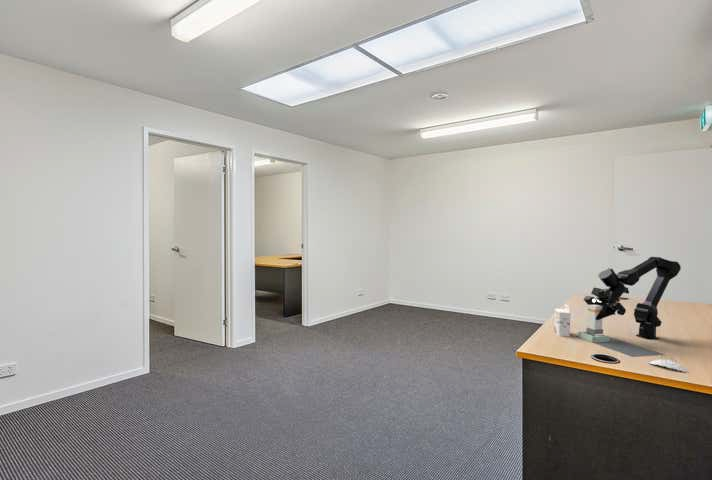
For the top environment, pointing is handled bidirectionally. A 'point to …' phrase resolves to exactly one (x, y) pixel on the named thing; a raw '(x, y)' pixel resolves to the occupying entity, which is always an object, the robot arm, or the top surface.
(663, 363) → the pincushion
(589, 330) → the white rectangular container
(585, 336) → the holder
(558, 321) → the ink cartridge box
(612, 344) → the mat
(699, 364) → the top surface
